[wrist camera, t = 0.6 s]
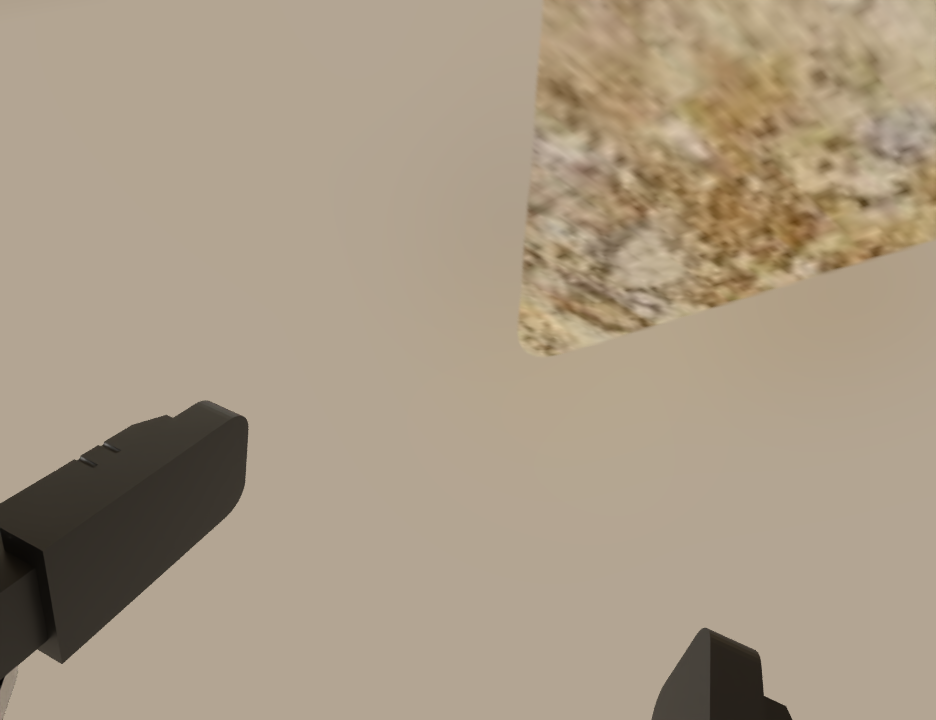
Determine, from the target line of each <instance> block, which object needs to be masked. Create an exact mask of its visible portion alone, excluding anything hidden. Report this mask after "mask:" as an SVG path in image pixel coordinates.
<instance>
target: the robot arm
mask: <svg viewBox="0 0 936 720" xmlns="http://www.w3.org/2000/svg"><path fill="white" fill-rule="evenodd" d="M247 443H248V422H247V419H246V418H245V417H243V416H241V415H239V414H237V413H235V412H232V411H230V410H228V409H226V408H223V407H221V406H219V405H217V404H215V403H212V402H210V401H201V402H198V403H197V404H195V405H193V406H191V407H190V408H188V409H187V410H185V411H183V412H182V413H180V414H179V415H177V416H175V417H174V418H172V417H170V416H168V415H165V416H161V417H158V418H154V419H151V420H148V421H144V422H141V423H138V424H134V425H132V426H130V427H128V428H127V429H125V430H123V431H122V432H120V433H118V434H116V435H115V436H113V437H111V438H110V439H108V440H106V441H105V442H104V444H103V445H102V446H99V445H98V446H96V447H95V448H93V449H92V450H90V451H88V452H86V453H85V454H83V455H81V457H80V459H79V460H73V461H71V462H69V463H68V464H66V465H64V466H63V467H61V468H59V469H58V470H56V471H54V472H53V473H51V474H49V475H48V476H46V477H44V478H43V479H41V480H39V481H37V482H36V483H34V484H32V485H31V486H29V487H27V488H26V489H24V490H23V491H21V492H19V493H17V494H16V495H14V496H12V497H11V498H9V499H7V500H6V501H4V502H2V503H0V720H3V717H4V714H5V711H6V708H7V705H8V702H9V699H10V697H11V694H12V691H13V688H14V685H15V682H16V678H17V674H18V665H19V664H20V663H21V662H22V661H24V660H25V659H26V658H27V657H28V656H30V655H31V654H32V653H33V652H34V651H35V650H37V649H38V650H39V651H41V652H43V653H44V654H46V655H48V656H49V657H51V658H53V659H54V660H56V661H58V662H60V663H61V664H63V663H64V662H65V661H66V660H67V659H68V658H69V657H70V656H71V655H72V654H74V653H75V652H76V651H77V650H78V649H79V648H81V647H82V646H83V645H84V644H85V643H86V642H87V641H88V640H89V639H91V638H92V636H94V635H95V634H96V633H97V632H98V631H99V630H101V629H102V628H103V627H104V626H105V625H106V624H107V623H108V622H110V621H111V620H112V619H113V618H114V617H115V616H116V615H117V614H118V613H119V612H121V611H122V610H123V609H124V608H125V607H126V606H127V605H128V604H130V602H132V601H133V600H134V599H135V598H136V597H137V596H138V595H140V594H141V593H142V592H143V591H144V590H145V589H146V588H147V587H148V586H150V585H151V584H152V583H153V582H154V581H155V580H156V579H157V578H159V577H160V576H161V575H162V574H163V573H164V572H165V571H166V570H167V569H168V568H170V567H171V566H172V565H173V564H174V563H175V562H176V561H177V560H179V559H180V558H181V557H182V556H183V555H184V554H185V553H186V552H187V551H189V550H190V548H192V547H193V546H194V545H195V544H196V543H197V542H199V541H200V540H201V539H202V538H203V537H204V536H205V535H206V534H208V532H210V531H211V530H212V529H213V528H214V527H215V526H216V525H218V524H219V523H220V522H221V521H222V520H223V519H224V518H225V517H226V516H227V515H228V514H229V513H230V512H231V511H232V510H233V508H234V507H235V506H236V504H237V502H238V501H239V499H240V496H241V495H242V492H243V489H244V485H245V475H246V459H247ZM652 720H792V718H791V716H790V714H789V712H788V710H787V708H786V706H784V705H782V704H780V703H778V702H776V701H774V700H771V699H769V698H767V697H765V696H764V693H763V680H762V668H761V660H760V656H759V654H758V652H757V651H756V650H754V649H752V648H749V647H747V646H745V645H743V644H741V643H738V642H736V641H734V640H732V639H729V638H727V637H725V636H723V635H721V634H718V633H716V632H714V631H712V630H710V629H707V628H703V629H701V630H700V631H699V632H698V634H697V635H696V636H695V638H694V639H693V641H692V643H691V644H690V646H689V647H688V649H687V650H686V652H685V653H684V655H683V657H682V658H681V660H680V661H679V662H678V664H677V666H676V667H675V669H674V670H673V672H672V673H671V675H670V676H669V678H668V679H667V681H666V682H665V684H664V686H663V687H662V690H661V691H660V694H659V696H658V699H657V702H656V705H655V708H654V712H653V716H652Z"/></svg>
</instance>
